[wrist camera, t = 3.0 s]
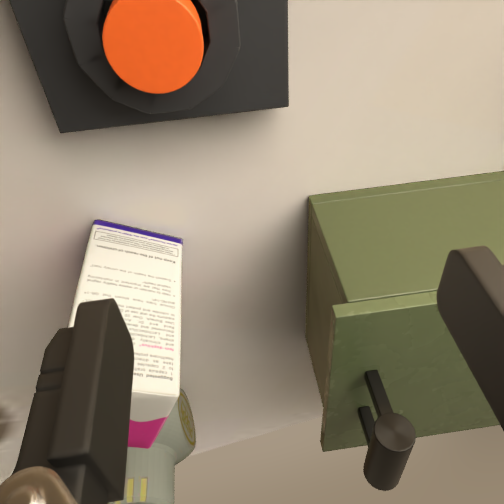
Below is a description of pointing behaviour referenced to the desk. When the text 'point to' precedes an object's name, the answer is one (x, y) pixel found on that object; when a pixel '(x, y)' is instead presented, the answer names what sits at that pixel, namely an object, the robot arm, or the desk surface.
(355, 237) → the green box
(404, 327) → the green handled lid
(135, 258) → the supplement box
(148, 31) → the release button
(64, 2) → the control block
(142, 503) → the air freshener
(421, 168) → the desk surface
